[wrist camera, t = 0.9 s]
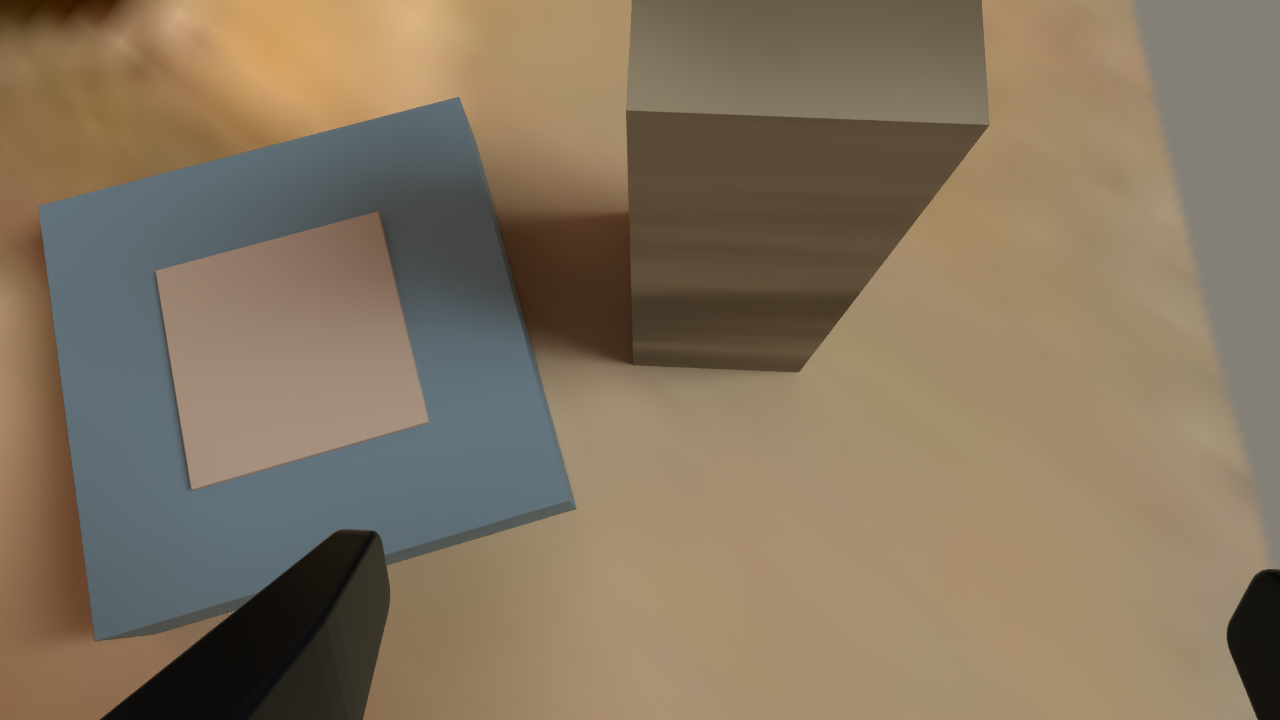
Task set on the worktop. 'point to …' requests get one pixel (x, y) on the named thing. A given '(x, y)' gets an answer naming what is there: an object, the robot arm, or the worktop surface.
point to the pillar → (784, 162)
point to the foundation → (292, 365)
